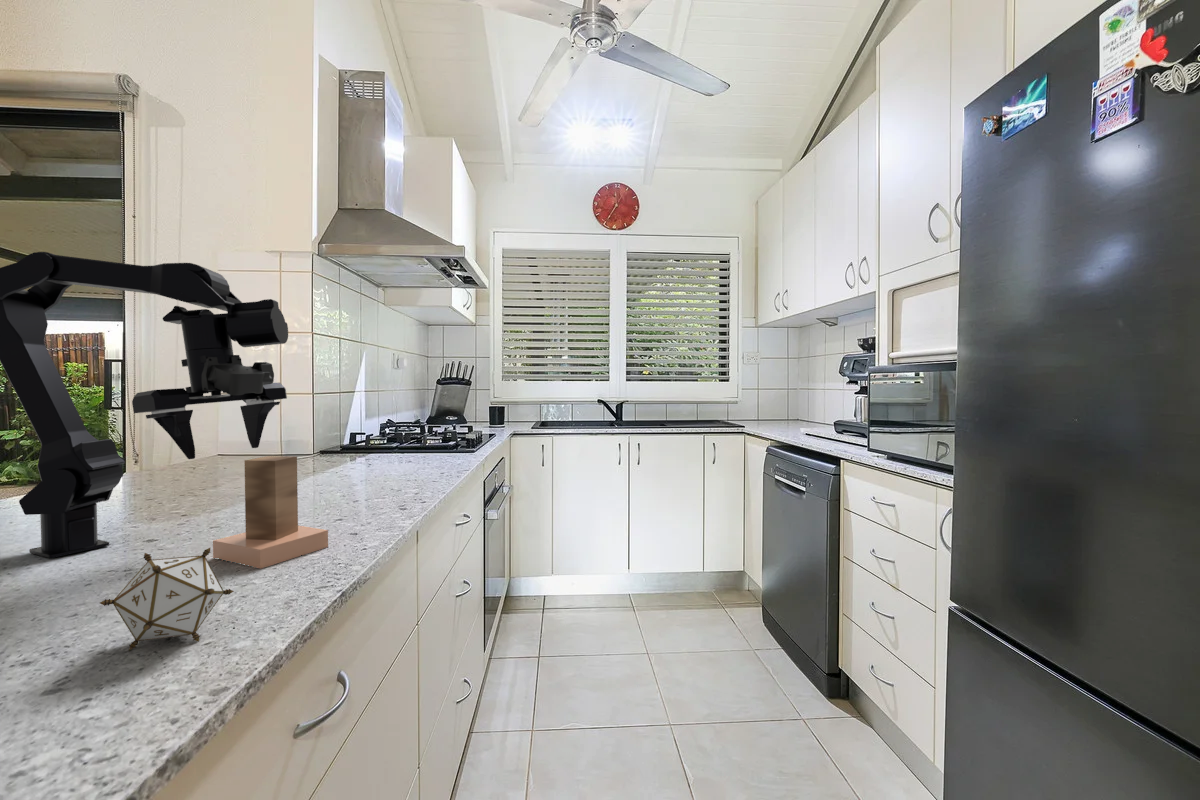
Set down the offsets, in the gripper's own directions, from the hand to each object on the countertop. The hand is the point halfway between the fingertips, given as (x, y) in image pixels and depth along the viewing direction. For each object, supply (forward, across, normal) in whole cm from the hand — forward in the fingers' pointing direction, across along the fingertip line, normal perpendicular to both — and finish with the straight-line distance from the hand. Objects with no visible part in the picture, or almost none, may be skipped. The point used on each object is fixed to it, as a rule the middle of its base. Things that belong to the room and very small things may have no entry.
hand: (225, 453), depth 79 cm
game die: (+15, -22, -25) cm, 37 cm away
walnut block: (+12, -1, -10) cm, 16 cm away
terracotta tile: (+15, -2, -10) cm, 18 cm away
